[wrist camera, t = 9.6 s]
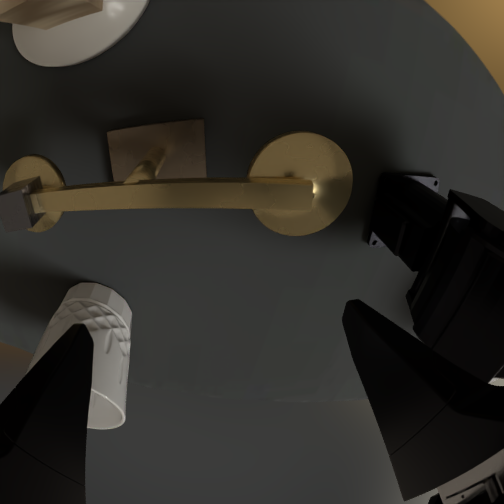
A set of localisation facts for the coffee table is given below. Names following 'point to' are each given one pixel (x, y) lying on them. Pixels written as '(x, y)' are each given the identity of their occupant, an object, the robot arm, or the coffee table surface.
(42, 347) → the white cup
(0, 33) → the coffee table surface
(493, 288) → the robot arm
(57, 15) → the block
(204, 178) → the balance
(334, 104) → the coffee table surface
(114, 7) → the dish
